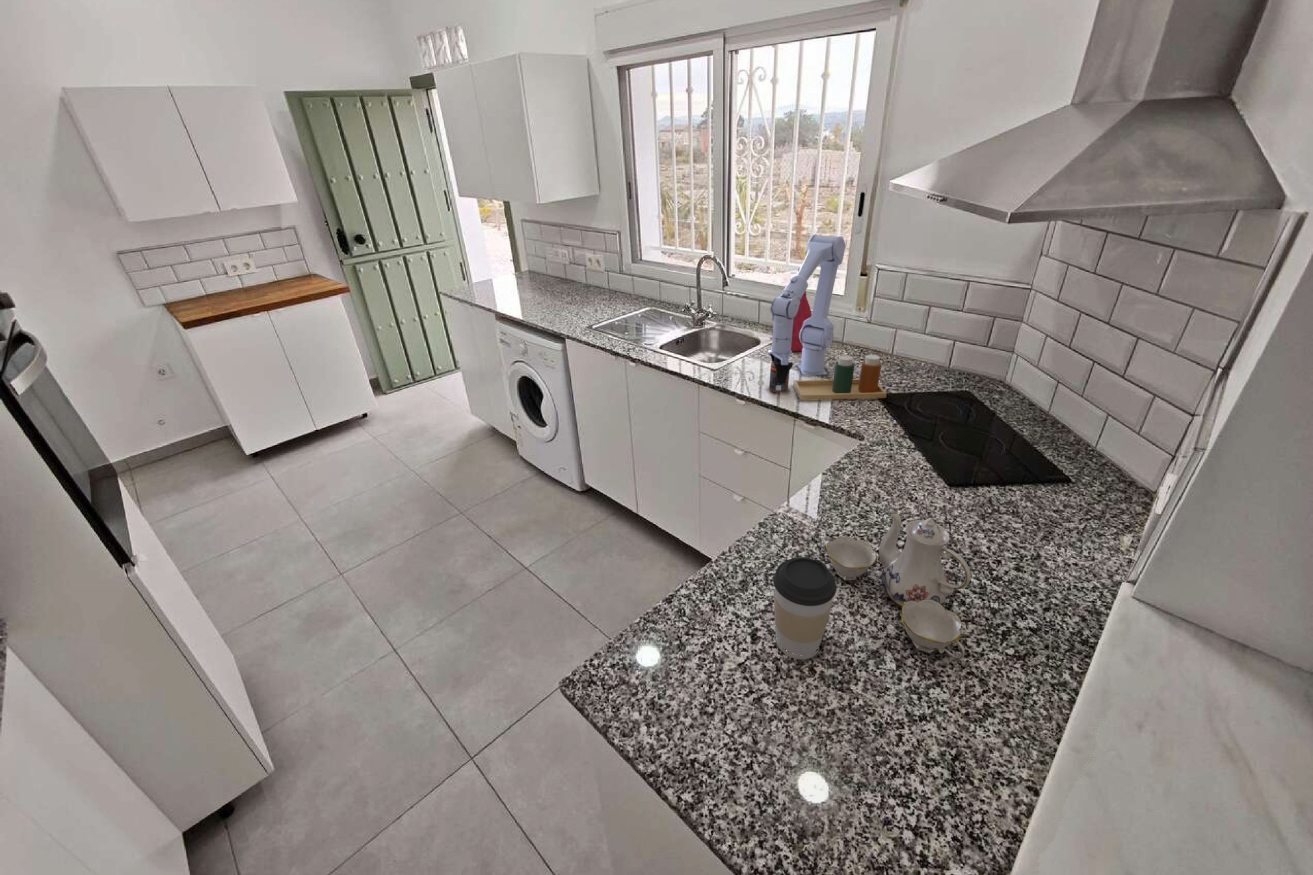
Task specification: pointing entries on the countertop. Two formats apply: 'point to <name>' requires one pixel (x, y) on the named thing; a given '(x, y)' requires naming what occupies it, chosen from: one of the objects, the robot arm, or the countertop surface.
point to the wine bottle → (800, 322)
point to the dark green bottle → (843, 375)
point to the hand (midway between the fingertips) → (779, 378)
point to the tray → (824, 390)
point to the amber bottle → (870, 374)
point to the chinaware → (910, 578)
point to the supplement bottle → (773, 379)
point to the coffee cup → (802, 605)
